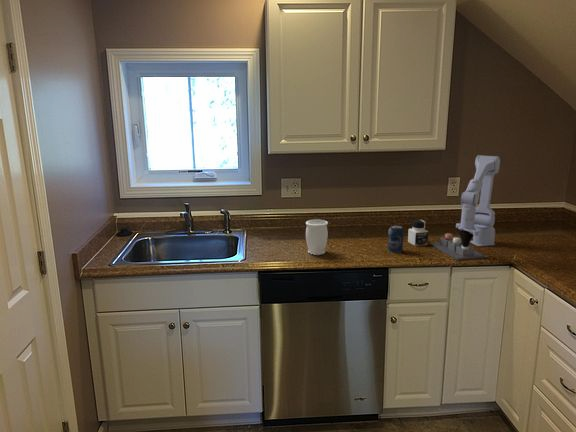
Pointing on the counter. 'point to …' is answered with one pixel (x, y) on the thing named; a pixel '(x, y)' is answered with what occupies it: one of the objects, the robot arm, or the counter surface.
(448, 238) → the key red
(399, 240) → the soda can
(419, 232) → the medicine bottle
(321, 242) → the jar
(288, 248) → the counter surface
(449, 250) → the keypad base
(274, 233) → the counter surface
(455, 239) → the key ivory
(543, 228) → the counter surface
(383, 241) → the counter surface
